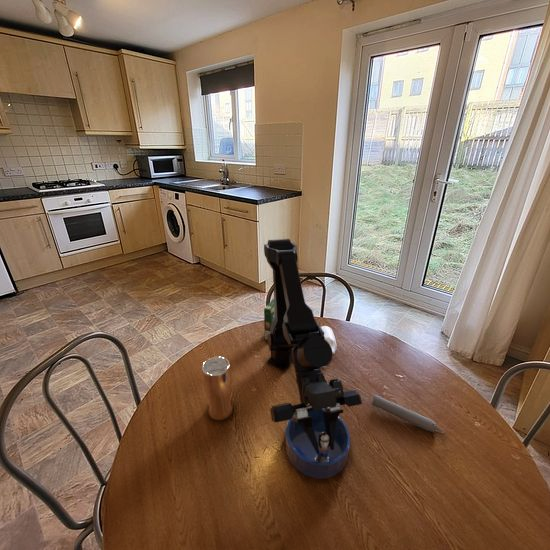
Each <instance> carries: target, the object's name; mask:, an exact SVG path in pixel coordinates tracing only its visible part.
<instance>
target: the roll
mask: <svg viewBox="0 0 550 550" xmlns="http://www.w3.org/2000/svg"><path fill="white" fill-rule="evenodd" d="M320 327H321V329H322V330H323V332H324V337H325V339H324V340H326V341H327V342H328V343H329V345H330V346H331V348H332V355H334V354H335V353H336V351H337V349H338V343H337V340H336V336H335V334H334V331H333V329H332V328H331V327H330V326H327V325H321V326H320Z"/></svg>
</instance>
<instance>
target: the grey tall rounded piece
mask: <svg viewBox="0 0 550 550" xmlns="http://www.w3.org/2000/svg"><path fill="white" fill-rule="evenodd" d="M329 441H330V436H329V434H328V433H327V432H321V433H320V434H319V440H318V447H319V454H317V455H316V456H315V461H314V462H329V459H328V449H329Z"/></svg>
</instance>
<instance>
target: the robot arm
mask: <svg viewBox="0 0 550 550" xmlns="http://www.w3.org/2000/svg"><path fill="white" fill-rule="evenodd" d="M263 254H264V257H265V258H266V262H267V263H268V265H269V267H270V268H271V269H272V283H273V299H274V304H275V319H274V320H273V322H272V324H271V326H270V331H271V333H269V334H268V335H267V340H266V341H267V346H268V349H269V352H270V358H269V359H267V363H269V364H271V365H272V366H275V367H277V368H278V369H280V370H283V371H285V370H286V369H287V368H289V366H291V364H293V368H294V374H295V381H296V385H297V387H298V388H297V389H298V395H299V402H300V403H297V404H293V403H291V402H285V403H279V404H275V405H272V406H271V407H270V409H269V411H270V417H271V421H273V422H274V423H281V422H285V421H289V420H290V419H293V421H295V422H299V424H300V425H301V427H302V428H303V429H304V431H305V433H306V434H307V436H308V438H309V440H310V442H311V444H312V446H313V447H314V449H315V451H316V453H317V454H319V447H318V443H317V439H316V436H315V432H314V429H313V425H312V417H309V416H308V412H309V411H313V410H322V409H323V408H324V409H325V411H322V412H323V417H324V422H325V428H326V432H327V433H328V434H329V436H330V441H329V446H330V449H331V450H334V440H335V428H336V422H337V419H338V416H339V417H340V414H344V409H341V407H342V406H347V407H350V408H351V407H353V406H359V405H362V404H363V401H362V397H360V396H361V395H360V392H358V390H356V389H352V390H351V389H350V390H349V389H348V390H345V389H344V387H343V381H342V379H341V378H339V377H337V378H333V379H329V381H328V382H327V380H326V377H325V375H324V374H325V373H323V372H322V371H323V370H322V368H321V367H324V366H326V367H327V365H328V364H330V363H331V361H332V359H333V354H332V348H331V346H330V345H329V343H328V342H327V341H326V340H324V339H325V337H324V332H323V330H322V329H321V327H322V326H320V324H319V323H318V321H317V319H316V318H315V315H314V312H313V310H312V309H311V307H310V306H309V305H308V304H307V303H306V301H305V295H304V291H303V286H302V282H301V277H300V272H299V267H298V262H299V261H298V259H299V258H298V245H297V244H296V243H295V242H293V241H291V238H279V239H278V238H276V239H268V240H267V243H264V245H263ZM340 379H341V380H340ZM344 390H345V391H344ZM293 416H294V418H292V417H293Z"/></svg>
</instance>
